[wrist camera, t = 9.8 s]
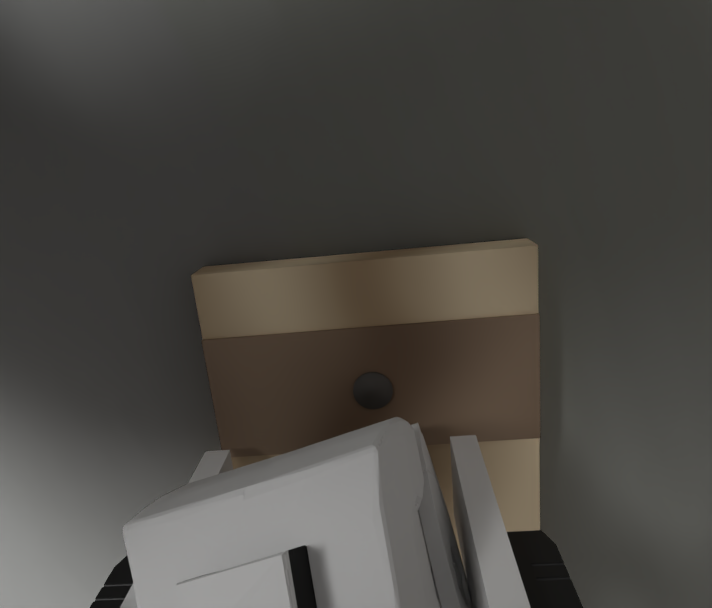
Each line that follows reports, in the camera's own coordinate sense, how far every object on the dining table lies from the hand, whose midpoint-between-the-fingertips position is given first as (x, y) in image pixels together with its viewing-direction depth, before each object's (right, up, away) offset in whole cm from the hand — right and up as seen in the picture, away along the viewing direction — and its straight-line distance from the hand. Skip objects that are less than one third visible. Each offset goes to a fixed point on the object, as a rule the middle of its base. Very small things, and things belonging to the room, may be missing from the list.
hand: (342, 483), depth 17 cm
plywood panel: (+1, -2, +3) cm, 3 cm away
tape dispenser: (0, 0, +1) cm, 1 cm away
